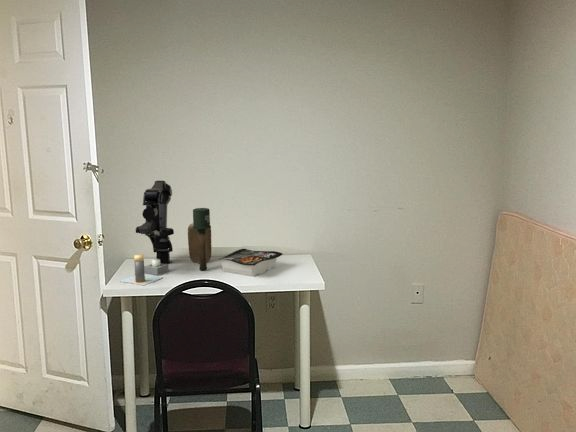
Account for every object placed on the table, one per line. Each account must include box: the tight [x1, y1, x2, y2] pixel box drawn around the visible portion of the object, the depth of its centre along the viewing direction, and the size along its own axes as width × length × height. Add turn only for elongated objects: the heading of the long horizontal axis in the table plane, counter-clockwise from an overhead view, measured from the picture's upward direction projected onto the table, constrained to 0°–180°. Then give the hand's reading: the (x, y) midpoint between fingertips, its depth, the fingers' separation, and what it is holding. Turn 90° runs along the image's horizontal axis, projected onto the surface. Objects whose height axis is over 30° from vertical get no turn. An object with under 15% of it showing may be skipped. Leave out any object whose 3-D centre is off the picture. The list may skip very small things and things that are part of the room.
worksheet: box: [119, 274, 163, 287], centre depth 274 cm, size 13×14×1 cm
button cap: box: [151, 258, 160, 267], centre depth 286 cm, size 4×4×5 cm
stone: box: [187, 222, 212, 263], centre depth 304 cm, size 12×7×20 cm, turn 99°
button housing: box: [144, 263, 169, 277], centre depth 286 cm, size 8×8×4 cm
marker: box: [133, 253, 146, 283], centre depth 269 cm, size 4×4×12 cm
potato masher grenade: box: [192, 207, 212, 272], centre depth 287 cm, size 8×9×30 cm
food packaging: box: [219, 248, 283, 277], centre depth 289 cm, size 25×8×23 cm
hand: (155, 248), depth 284 cm, fingers closed
